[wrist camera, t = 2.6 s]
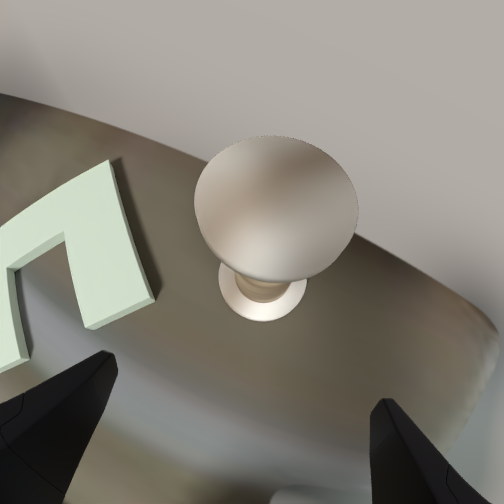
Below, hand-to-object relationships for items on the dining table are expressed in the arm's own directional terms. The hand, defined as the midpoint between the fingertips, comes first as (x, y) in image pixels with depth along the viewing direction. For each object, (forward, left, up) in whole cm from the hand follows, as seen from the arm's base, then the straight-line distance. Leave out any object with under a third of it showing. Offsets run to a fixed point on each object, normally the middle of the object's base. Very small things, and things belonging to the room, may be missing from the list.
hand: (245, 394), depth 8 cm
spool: (+4, -7, -13) cm, 15 cm away
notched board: (+21, +7, -13) cm, 26 cm away
